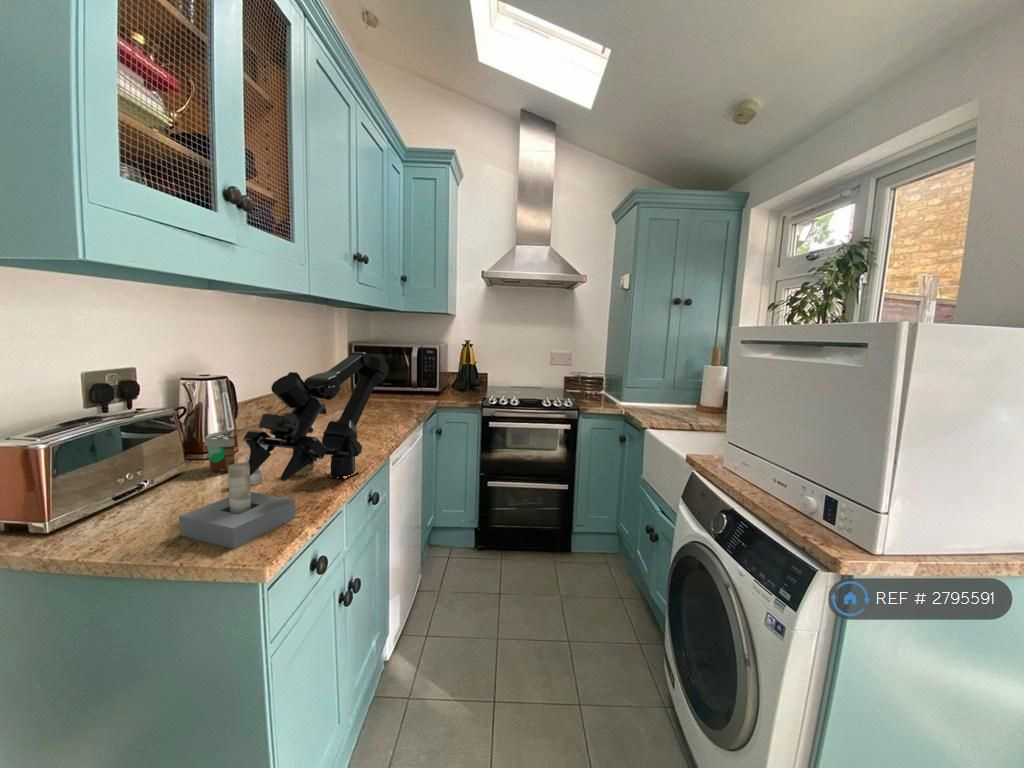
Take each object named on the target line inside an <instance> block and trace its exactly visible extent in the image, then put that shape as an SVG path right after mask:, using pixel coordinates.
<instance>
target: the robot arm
mask: <svg viewBox="0 0 1024 768" xmlns="http://www.w3.org/2000/svg"><path fill="white" fill-rule="evenodd" d="M389 370H390V367H389V365H388V363H387V362H386V361H385V360H384V359H381V358H378V357H375V356H372V355H371V354H369V353H367V352H366V351H365V352H364V351H363V352H362V351H353V352H351V353H349V355H348V356H346V357H345V358H344V359H343V360H341V361H340V362H339V363H337V364H336V365H334V366H332V367H331V368H330V369H329V370H327V371H324V372H320V373H316V374H315V373H314V374H313V375H310V376H309V377H307V378H305V380H303V379H302V378H301V375H300V374H299V373H298V372H297V371H296V372H295V371H292V372H291V371H289V372H288V373H287V374H286V375H284V376H281V377H280V378H278V379H276V380H275V381H274V382H273V383H272V384H271V392H272V393H273V394H274V395H275V397H277V398H278V399H279V400H280V401H281V402H282V403H283V404H284V405H285V407H287V408H289V409H291V411H290V412H289V413H288V412H286V413H284V415H278V414H270V413H262V416H261V419H260V422H259V425H258V428H259V429H265V430H266V429H267V430H269V434H271V435H272V436H275V437H271V436H270V435H269V434H268V433H267V432H266V431H264V430H263V431H262V430H254V429H253V430H252V429H251V430H248V431H247V432H246V433H245V435H244V437H243V438H242V440H243V441H245V444H246V445H248V447H249V449H250V450H249V456H250V458H249V462H248V463H249V464H250V476H251V475H252V474H253V473H254V472H255V471H256V470H257V469H258V468H259V467H260V466H261V465H263V463H265V461H267V459H269V458H270V456H271V455H272V453H271V452H272V451H274V450H275V448H283V449H292V456H291V457H290V459H289V461H288V463H287V464H286V467H285V469H284V470H283V472H282V474H281V476H280V480H281V482H285V481H287V480H288V479H289V478H291V477H292V476H295V475H294V474H295V473H296V472H298V471H299V470H301V469H302V468H304V467H305V466H307V465H308V464H310V463H311V462H313V461H314V462H317V461H318V460H323V459H324V457H325V456H328V455H329V456H330V472H329V473H327V474H326V477H327V476H332V477H339V478H343V476H348V475H350V476H351V474H353V473H354V471H355V470H356V457H359V456H360V455H361V454H362V449H363V445H361V443H360V442H359V441H358V440H357V439H358V436H359V435H358V431H357V425H358V423H359V421H360V419H361V417H362V414H363V412H364V410H365V408H366V406H367V403H368V401H369V399H370V397H371V395H372V393H373V391H374V388H375V387H377V386H378V385H379V384H381V383H382V382H383V381H384V380H385V378H386V377H387V375H388V373H389ZM356 373H357V375H358V381H357V383H356V385H355V388H354V390H353V391H352V394H351V395H350V397H349V399H348V401H347V403H346V405H345V407H344V409H343V411H342V413H341V415H340V416H339V419H338V420H336V421H335V420H334V421H333V420H330V421H329V422H328V424H327V426H326V428H325V430H324V431H323V432H322V434H323V436H322V437H321V440H319V438H318V437H315V436H308V434H312V433H313V431H314V430H315V429H314V428H313V427H312V426H313V424H314V423H315V421H316V420H317V418H318V416H319V415H327V413H328V412H327V409H326V406H325V405H326V404H325V403H321V402H320V401H319V400H326V401H331V400H333V399H334V398H336V396H337V394H338V393H340V391H341V386H342V384H343V383H345V382H346V381H347V380H348V379H349V378H351V377H352V376H353V375H355V374H356ZM358 471H359V472H360V470H358ZM357 473H358V472H357ZM358 474H359V473H358ZM332 477H331V478H332ZM348 477H349V476H348Z"/></svg>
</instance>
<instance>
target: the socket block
mask: <svg viewBox="0 0 1024 768" xmlns="http://www.w3.org/2000/svg"><path fill="white" fill-rule="evenodd" d="M250 494H251V509H250V510H247V511H245V512H243V513H241V514H233V513H230V504H229V496H228V497H226V498H223V499H221V500H218V501H215V502H212V503H209V504H208V505H205V506H202V507H200V508H197V509H194V510H191V511H189V512H186V513H183V514H180V515H179V516H178V519H179V520H178V522H179V536H180V535H181V537H184V536H185V537H184V538H188V537H189V539H192V538H193V540H196V541H201V542H205V543H208V544H213V545H217V546H220V547H225V548H228V549H232V550H235V549H237V548H239V547H241V546H242V545H243V546H244V545H245V544H246V543H248V542H250V541H253V540H254V539H257V538H258V537H260V536H262V535H264V534H266V533H268V532H270V531H272V530H274V529H276V528H278V527H279V526H283V524H285V523H288V522H289V521H291V520H294V519H296V500H295V499H290V498H286V497H280V496H276V495H270V494H265V493H259V492H255V491H254V492H253V491H250Z"/></svg>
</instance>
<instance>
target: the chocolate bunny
mask: <svg viewBox="0 0 1024 768" xmlns="http://www.w3.org/2000/svg"><path fill="white" fill-rule="evenodd" d="M315 466H316V464H315V461H313V462H311V463H310V464H308V465H307V466H305V467H304V468H302V469H301V470H299V471H298V472H296V473H295V475H294V476H299V475H302V476H305V475H304V474H311V475H313V474H315V470H314V468H315ZM312 473H313V474H312Z"/></svg>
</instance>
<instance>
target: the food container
mask: <svg viewBox="0 0 1024 768" xmlns="http://www.w3.org/2000/svg"><path fill="white" fill-rule="evenodd" d="M203 444H204V446H205V447H206V448H207V454H208V462H209V469H210V472H212V473H215V474H228V466H229V465H232V464H236V463H235V461H236V459H235V446H236V444H235V438H231V436H230V435H228V431H227V430H224V431H217V432H213V433H210V434H207V435H206V438H204V443H203Z"/></svg>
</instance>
